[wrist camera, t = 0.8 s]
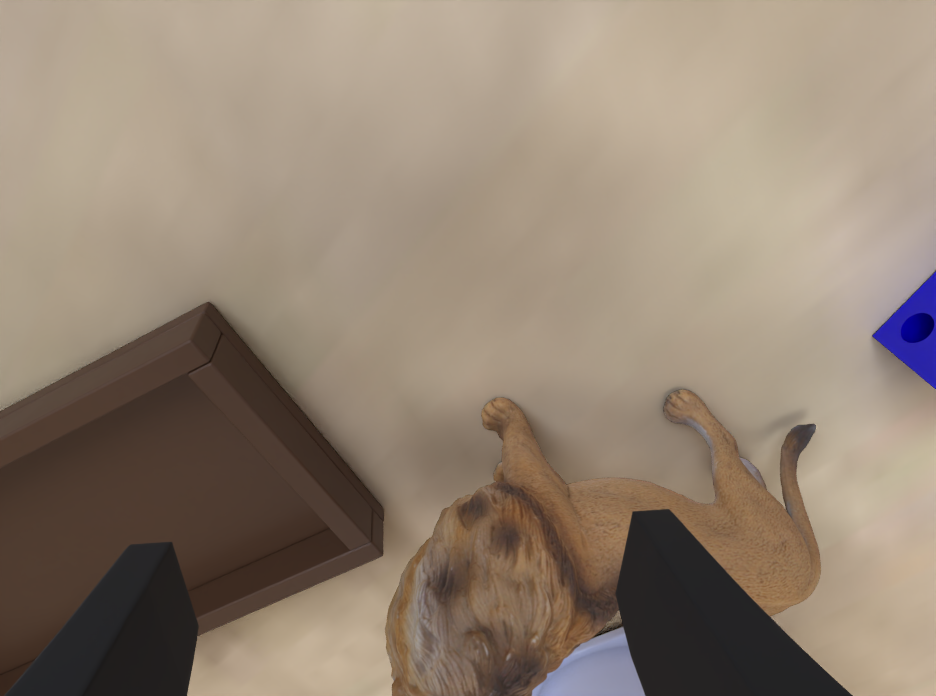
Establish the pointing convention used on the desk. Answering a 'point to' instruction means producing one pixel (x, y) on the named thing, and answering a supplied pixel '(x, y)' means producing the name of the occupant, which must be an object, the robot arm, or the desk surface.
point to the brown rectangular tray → (170, 485)
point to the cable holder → (914, 332)
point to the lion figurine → (576, 558)
